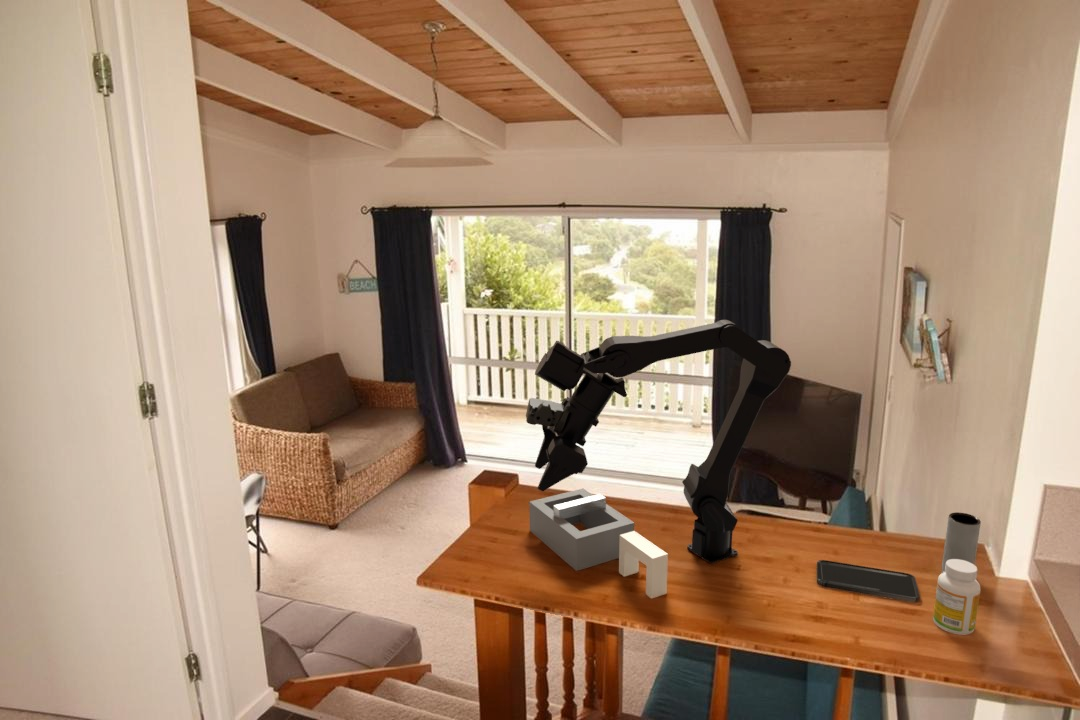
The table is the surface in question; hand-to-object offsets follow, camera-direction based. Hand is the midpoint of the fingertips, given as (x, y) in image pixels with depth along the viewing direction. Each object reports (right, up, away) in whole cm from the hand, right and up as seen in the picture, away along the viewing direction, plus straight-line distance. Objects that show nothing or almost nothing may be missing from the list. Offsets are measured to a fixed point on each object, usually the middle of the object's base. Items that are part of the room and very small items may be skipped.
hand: (538, 478), depth 121 cm
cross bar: (+8, -7, +7) cm, 12 cm away
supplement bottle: (+61, -19, -18) cm, 67 cm away
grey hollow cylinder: (+70, -16, -4) cm, 72 cm away
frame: (+8, -13, +8) cm, 17 cm away
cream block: (+17, -16, -6) cm, 24 cm away
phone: (+54, -17, -6) cm, 57 cm away
